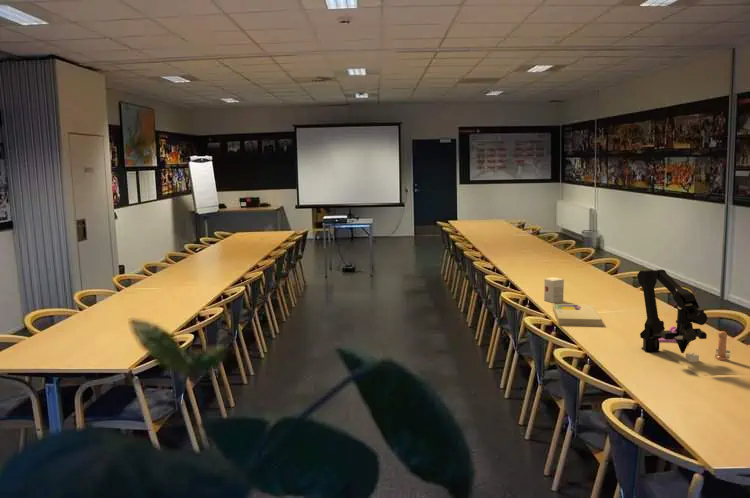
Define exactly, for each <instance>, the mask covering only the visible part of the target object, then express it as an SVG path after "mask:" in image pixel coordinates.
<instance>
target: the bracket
mask: <svg viewBox="0 0 750 498" xmlns="http://www.w3.org/2000/svg"><path fill="white" fill-rule="evenodd" d="M675 329H677V326H670V327H669V330H668V331H671V332H673V333H677V332H676V331H675ZM658 339H659V342H660V343H677V342H676V340H675V339H673V340H666V339H664V338H658Z"/></svg>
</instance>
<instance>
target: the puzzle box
mask: <svg viewBox="0 0 750 498" xmlns="http://www.w3.org/2000/svg"><path fill="white" fill-rule="evenodd" d="M552 312H553V314H554V317H555V320H556V323H557V325H558V326H581V327H582V326H583V327H603V319H602V316H600V314H599V312H598V311H597V309H596V308H595V306H594V305H593V304H577V303H575V304H571V303H570V304H569V303H560V304H559V303H552Z"/></svg>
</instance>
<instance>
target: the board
mask: <svg viewBox="0 0 750 498" xmlns="http://www.w3.org/2000/svg"><path fill="white" fill-rule="evenodd" d="M717 355H718V348H716V349H715V355H714V361H718V360H717V359H716V356H717ZM730 355H731V350H727V349H726V356H727V360H726V361H725V362H729V361H730Z"/></svg>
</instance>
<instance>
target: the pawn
mask: <svg viewBox="0 0 750 498" xmlns="http://www.w3.org/2000/svg"><path fill="white" fill-rule="evenodd" d="M717 335H718V345H717V349H718V355H717V356H716V359H717V360H716V361H722V362H723V361H724V362H727V361H726V360H727V356H726V350H727V341H728V339H727V337H728V332H726V330H725V331H724V330H721V331H719V332H718V334H717Z"/></svg>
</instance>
